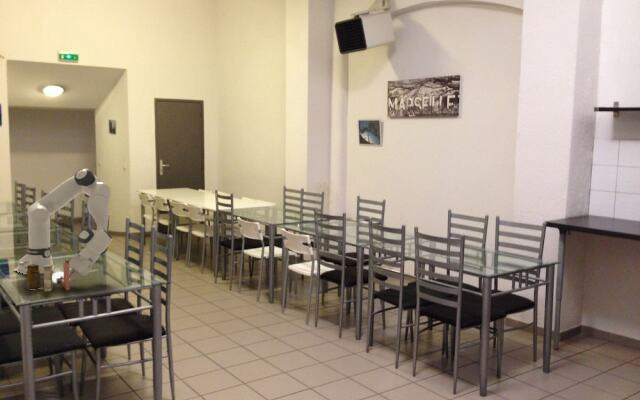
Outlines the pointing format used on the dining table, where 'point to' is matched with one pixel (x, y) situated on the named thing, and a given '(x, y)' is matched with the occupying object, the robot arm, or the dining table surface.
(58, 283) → the pivot base
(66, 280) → the red l-shaped bracket
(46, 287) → the latch post
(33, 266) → the condiment
